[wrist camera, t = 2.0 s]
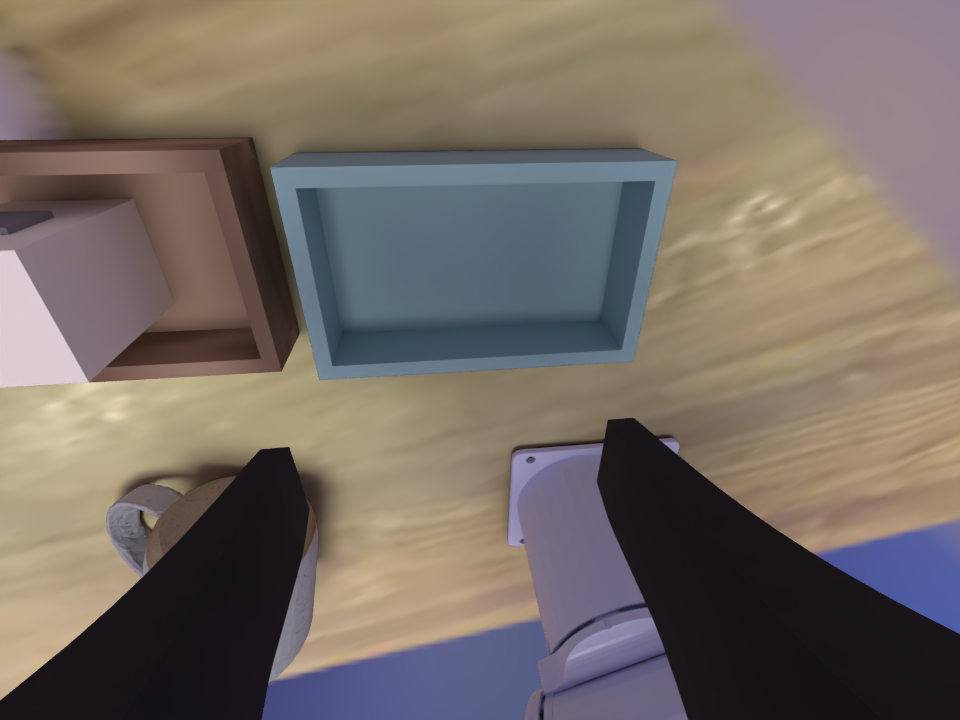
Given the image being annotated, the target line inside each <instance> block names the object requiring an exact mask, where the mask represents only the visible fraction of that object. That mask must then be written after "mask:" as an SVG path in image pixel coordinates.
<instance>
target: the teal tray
mask: <svg viewBox="0 0 960 720" xmlns="http://www.w3.org/2000/svg"><path fill="white" fill-rule="evenodd" d="M676 164H677V161H676V160H673V159H670V158H667V157H664V156H661V155H658V154H655V153H652V152H649V151H646V150H643V149H640V148H622V149H549V150H477V151H404V152H331V153H293V154H292V155H290V156H288V157H287V158H285V159H284V160H282V161H280V162H279V163H277V164H275V165H274V166H272V167H271V168H270V169H271V173H272V178H273V182H274V186H275V191H276V195H277V199H278V204H279V208H280V212H281V217H282V221H283V225H284V230H285V234H286V238H287V243H288V247H289V251H290V256H291V260H292V264H293V269H294V273H295V277H296V282H297V286H298V290H299V295H300V299H301V303H302V308H303V312H304V316H305V321H306V325H307V330H308V334H309V338H310V343H311V347H312V351H313V356H314V360H315V364H316V369H317V373H318V377H319V380H330V379H347V378H364V377H381V376H398V375H415V374H431V373H448V372H465V371H482V370H499V369H516V368H533V367H549V366H566V365H583V364H600V363H617V362H633V361H634V357H635V352H636V347H637V343H638V338H639V334H640V329H641V324H642V320H643V315H644V311H645V306H646V301H647V297H648V292H649V288H650V283H651V279H652V274H653V269H654V265H655V260H656V256H657V251H658V246H659V242H660V237H661V233H662V228H663V223H664V219H665V214H666V210H667V205H668V201H669V196H670V191H671V187H672V182H673V178H674V173H675V168H676Z"/></svg>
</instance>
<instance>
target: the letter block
mask: <svg viewBox="0 0 960 720" xmlns="http://www.w3.org/2000/svg"><path fill="white" fill-rule="evenodd" d="M173 304H174V300H173V298H172V295H171V293H170V290H169V288H168V285H167V283H166V280H165V277H164V275H163V272H162V270H161V267H160V265H159V262H158V260H157V257H156V255H155V252H154V250H153V247H152V245H151V242H150V240H149V237H148V234H147V232H146V229H145V227H144V224H143V222H142V219H141V217H140V214H139V212H138V209H137V207H136V204H135V202H134V199H110V200H65V201H19V202H6V203H3V204H0V387H17V386H35V385H52V384H70V383H87V382H90V381H91V380H92V379H93V378H94V377H95V376H96V375H97V374H99V373H100V372H101V371H102V370H103V369H104V368H105V367H106V366H107V365H108V364H109V363H110V362H111V361H113V360H114V359H115V358H116V357H117V356H118V355H119V354H120V353H121V352H122V351H123V350H124V349H126V348H127V347H128V346H129V345H130V344H131V343H132V342H133V341H134V340H135V339H136V338H137V337H139V336H140V335H141V334H142V333H143V332H144V331H145V330H146V329H147V328H148V327H149V326H150V325H152V324H153V323H154V322H155V321H156V320H157V319H158V318H159V317H160V316H161V315H162V314H163V313H165V312H166V311H167V310H168V309H169V308H170V307H171V306H172V305H173Z"/></svg>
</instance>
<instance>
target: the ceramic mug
mask: <svg viewBox="0 0 960 720" xmlns="http://www.w3.org/2000/svg"><path fill="white" fill-rule="evenodd" d="M235 477H236V476H231V477H226V478H221V479H217V480H214V481H211V482H208V483H205V484H203V485H201V486H199V487H197V488H195V489H193V490H191V491H189V492H188V493H186V494H185V495H182V494H181V493H180V492H177V491H175V490H173V489H171V488H169V487H163V486H160V485H155V484H146V485H141V486H139V487H137V488H135V489H134V490H132V491H131V492H129V493H128V494H126V495H125V496H123V497H122V498H121V499H119V500H118V501H116V502H115V503H114V504H113V505H112V506H111V507H110V508H109V510H108V513H107V518H106V523H107V530H108V534H109V536H110V538H111V541H112V543H113V545H114V546H115V548H116V550H117V551H118V553H119V554H120V556H121V557H122V558H123V560H124V561H125V562H126V563H127V564H128V565H129V566H130V567H131V568H132V569H133V570H134V571H135V572H136V573H137V574H138V575H140V577H141V578H142V577H143V576H144V575H145V574H146V573H147V572H148V571H149V570H150V569H151V568H152V567H153V566H154V565H155V564H156V563H157V562H158V561H159V560H160V559H161V558H162V557H163V556H164V555H165V554H166V553H167V552H168V551H169V550H170V549H171V548H172V547H173V546H174V545H175V544H176V543H177V542H178V541H179V540H180V538H181V537H182V536H183V535H184V534H185V533H186V532H187V531H188V530H189V529H190V528H191V527H192V525H193V524H194V523H195V522H196V521H197V520H198V519H199V518H200V517H201V516H202V515H203V513H204V512H205V511H206V510H207V509H208V508H209V507H210V506H211V505H212V504H213V502H214V501H215V500H216V499H217V498H218V497H219V496H220V495H221V493H222V492H223V491H224V490H225V489H226V488H227V487H228V485H229V484H230V483H231V482H232V481H233V480H234V479H235ZM306 500H307V499H306ZM307 503H308V506H309V509H310V510H309V518H308V525H307V532H306V539H305V545H304V551H303V556H302V560H301V564H300V568H299V571H298V575H297V579H296V582H295V586H294V590H293V593H292V597H291V601H290V604H289V608H288V611H287V615H286V619H285V622H284V626H283V629H282V633H281V637H280V640H279V644H278V647H277V651H276V655H275V658H274V662H273V666H272V670H271V674H270V679H269V683H270V682H271V681H273V680H274V679H275V678H276V677H278V676H279V675H280V674H281V673H282V672H283V671H284V670H285V669H286V668H287V667H288V666H289V665H290V663H291V662H292V661H293V660H294V658H295V657H296V655H297V654H298V653H299V651H300V650H301V648H302V646H303V644H304V642H305V640H306V638H307V636H308V633H309V630H310V626H311V622H312V617H313V607H314V592H315V581H316V565H317V555H318V529H317V523H316V519H315V515H314V511H313V509H312V507H311V504H310V503H309V501H308V500H307ZM140 510H143V511H145V512H148V513H149V514H151V515H153V516H155V517H158V518H159V519H158V520H157V522H156V524H155V526H154V528H153V530H152V532H151V534H150V535H149V534H148V533H147V532H146V531H145V530H144V527H143V526H142V524H141V522H140Z"/></svg>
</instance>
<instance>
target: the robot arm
mask: <svg viewBox="0 0 960 720" xmlns="http://www.w3.org/2000/svg"><path fill="white" fill-rule="evenodd" d="M679 446H680V445H679V443H678V442H677V441H676V439H674V438H665V439H658V438H657V437H656V436H655V435H653V434H652V433H651V432H650V431H649V430H648V429H646V428H645V427H644V426H643V425H642V424H640V423H639V422H638V421H637V420H635V419H634V418H625V419H613V420H608V422H607V428H606V433H605V439H604V443H599V444H586V445H573V446H560V447H547V448H533V449H521V450H517V451H515V452H514V453H513V454H512V459H511V478H510V496H509V515H508V533H507V539H508V544H509V545H511V546H525V548H526V553H527V557H528V562H529V566H530V571H531V575H532V580H533V585H534V589H535V594H536V598H537V603H538V607H539V612H540V616H541V621H542V625H543V630H544V635H545V639H546V644H547V648H548V652H549V657H548V658H546V659H543V660H541V661H539V663H538V667H539V672H540V678H541V683H542V689H539V690H537V691H535V692H534V693H533V694H532V695H531V697H530V699H529V702H528V706H527V710H526V715H525V719H524V720H960V634H958V633H956V632H955V631H952V630H950V629H949V628H946V627H944V626H943V625H941V624H939V623H937V622H935V621H933V620H931V619H929V618H927V617H925V616H923V615H921V614H919V613H917V612H915V611H913V610H911V609H909V608H908V607H906V606H904V605H902V604H900V603H898V602H896V601H894V600H893V599H890V598H889V597H887V596H885V595H883V594H881V593H879V592H878V591H876V590H874V589H873V588H871V587H869V586H867V585H865V584H864V583H862V582H860V581H859V580H857V579H855V578H853V577H852V576H849V575H848V574H846V573H845V572H843V571H841V570H839V569H838V568H836V567H834V566H833V565H831V564H829V563H828V562H826V561H824V560H823V559H821V558H819V557H818V556H816V555H815V554H813V553H812V552H810V551H808V550H807V549H805V548H804V547H802V546H801V545H799V544H798V543H796V542H794V541H793V540H791V539H790V538H788V537H787V536H785V535H784V534H782V533H780V532H779V531H777V530H776V529H775V528H773V527H772V526H770V525H769V524H767V523H766V522H764V521H763V520H761V519H760V518H759V517H757V516H756V515H754V514H753V513H752V512H750V511H749V510H748V509H746V508H745V507H743V506H742V505H741V504H739V503H738V502H737V501H735V500H734V499H732V498H731V497H730V496H728V495H727V494H726V493H725V492H723V491H722V490H721V489H719V488H718V487H717V486H715V485H714V484H713V483H712V482H710V481H709V480H708V479H707V478H705V477H704V476H703V475H702V474H700V473H699V472H698V471H697V470H695V469H694V468H693V467H692V466H690V465H689V464H688V463H687V462H686V461H684V460H683V459H682V458H681V457H680V456H678V455H677V453H678V450H679ZM531 456H532V458H528V457H531ZM309 510H310V509H309V506H308V503H307V500H306V497H305V494H304V491H303V487H302V484H301V481H300V478H299V475H298V472H297V469H296V466H295V463H294V460H293V457H292V454H291V451H290V448H289V447H284V448H272V449H261V450H260V451H259V452H258V453H257V454H256V455H255V456H254V457H253V458H252V459H251V461H250V462H249V463H248V464H247V465H246V466H245V467H244V468H243V470H242V471H241V472H240V473H239V474H238V475H237V476H236V477H235V479H234V480H233V481H232V482H231V483H230V484H229V485H228V487H227V488H226V489H225V490H224V491H223V492H222V493H221V495H220V496H219V497H218V498H217V499H216V500H215V501H214V502H213V504H212V505H211V506H210V507H209V508H208V509H207V510H206V511H205V512H204V513H203V515H202V516H201V517H200V518H199V519H198V520H197V521H196V522H195V523H194V524H193V525H192V527H191V528H190V529H189V530H188V531H187V532H186V533H185V534H184V535H183V536H182V537H181V538H180V540H179V541H178V542H177V543H176V544H175V545H174V546H173V547H172V548H171V549H170V550H169V551H168V552H167V553H166V554H165V555H164V556H163V557H162V558H161V559H160V560H159V561H158V562H157V563H156V564H155V565H154V566H153V567H152V568H151V569H150V570H149V571H148V572H147V573H146V574H145V575H144V576H143V577H142V578H141V579H140V580H139V581H138V582H137V583H136V584H135V585H134V586H133V587H132V588H131V589H130V590H129V591H128V592H127V593H126V594H125V595H123V596H122V597H121V598H120V599H119V600H118V601H117V602H116V603H115V604H114V605H113V606H112V607H111V608H109V609H108V610H107V611H106V612H105V613H104V614H103V615H102V616H100V617H99V618H98V619H97V620H96V621H95V622H94V623H93V624H91V625H90V626H89V627H88V628H87V629H86V630H85V631H84V632H83V633H81V634H80V635H79V636H78V637H77V638H76V639H74V640H73V641H72V642H71V643H70V644H69V645H68V646H66V647H65V648H64V649H63V650H61V651H60V652H59V653H58V654H57V655H55V656H54V657H53V658H52V659H50V660H49V661H48V662H47V663H46V664H44V665H43V666H42V667H41V668H39V669H38V670H37V671H36V672H35V673H33V674H32V675H31V676H30V677H28V678H27V679H26V680H25V681H24V682H22V683H21V684H20V685H19V686H17V687H16V688H15V689H14V690H13V691H11V692H10V693H9V694H8V695H6V696H5V697H4V698H3V699H2V700H0V720H261V719H262V714H263V708H264V703H265V697H266V692H267V687H268V683H269V679H270V674H271V670H272V666H273V662H274V658H275V655H276V651H277V647H278V644H279V640H280V637H281V633H282V629H283V626H284V622H285V619H286V615H287V611H288V608H289V604H290V601H291V597H292V593H293V590H294V586H295V582H296V579H297V575H298V571H299V568H300V564H301V560H302V556H303V551H304V545H305V539H306V532H307V525H308V518H309Z"/></svg>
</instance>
